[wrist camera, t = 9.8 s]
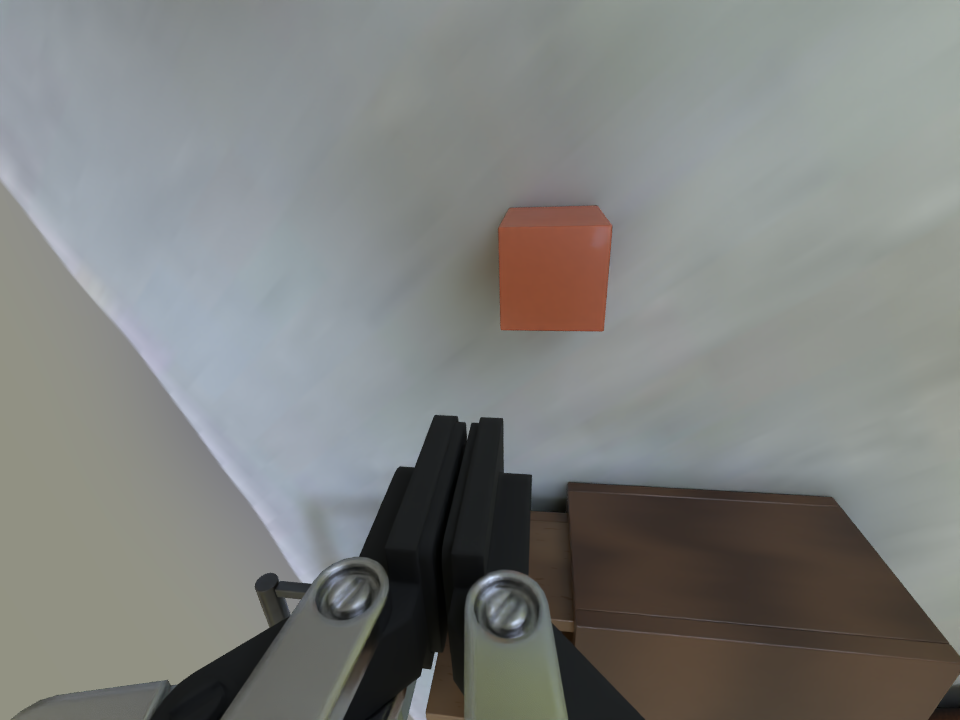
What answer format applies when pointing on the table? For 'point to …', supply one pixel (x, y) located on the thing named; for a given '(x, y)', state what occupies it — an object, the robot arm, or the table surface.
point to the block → (554, 268)
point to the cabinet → (746, 608)
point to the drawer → (445, 696)
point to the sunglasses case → (945, 714)
